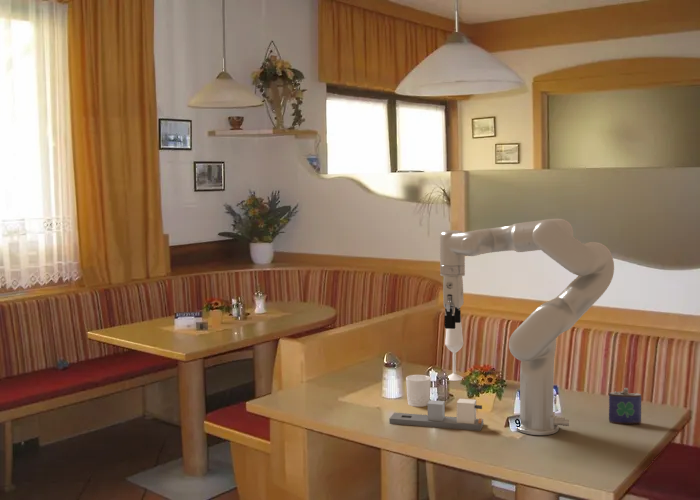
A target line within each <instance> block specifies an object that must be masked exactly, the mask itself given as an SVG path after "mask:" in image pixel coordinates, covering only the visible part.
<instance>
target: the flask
mask: <svg viewBox="0 0 700 500" xmlns="http://www.w3.org/2000/svg"><path fill="white" fill-rule="evenodd" d="M608 403H609V405H608V406H609V407H608V422H609V424H616V425H641V423H642V394H641V393H637V392H635V393H629V388H628V387H624V388H623V390H622V391H616V390H615V391H612V392H609V394H608Z"/></svg>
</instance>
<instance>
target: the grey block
mask: <svg viewBox="0 0 700 500" xmlns="http://www.w3.org/2000/svg"><path fill="white" fill-rule="evenodd" d="M445 408H446V407H445V400H434V399H433V400H432V399H430V400H429V402H428V405H427V415H428V420H432V421H443V420H444V418H445V416H446V415H445V413H446V411H445V410H446V409H445Z"/></svg>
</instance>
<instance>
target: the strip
mask: <svg viewBox="0 0 700 500" xmlns="http://www.w3.org/2000/svg"><path fill="white" fill-rule="evenodd" d="M389 424H391V425H401V426H402V425H403V426H404V425H405V426H414V427H415V426H418V427H428V428H429V427H430V428H440V429H451V430H452V429H453V430H468V431H477V432H478V431H482V428H483V426H484V419H483V418H476V421H475V423H474V424H469V423H457V416H448V415H447V416H446V415H445V418H444V420H443V421H432V420H428V414H420V413H419V414H418V413H407V412H405V413H404V412H393V413H392V415H391V416H390V417H389Z"/></svg>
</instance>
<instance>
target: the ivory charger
mask: <svg viewBox="0 0 700 500" xmlns="http://www.w3.org/2000/svg"><path fill="white" fill-rule="evenodd" d="M477 409H478V410H479V409H480V410H482V409H483V405H478V404H477V399H471V398H458V399H457V401H456V417H457V423H469V424H474V423H475V421H476V419H477Z"/></svg>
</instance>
